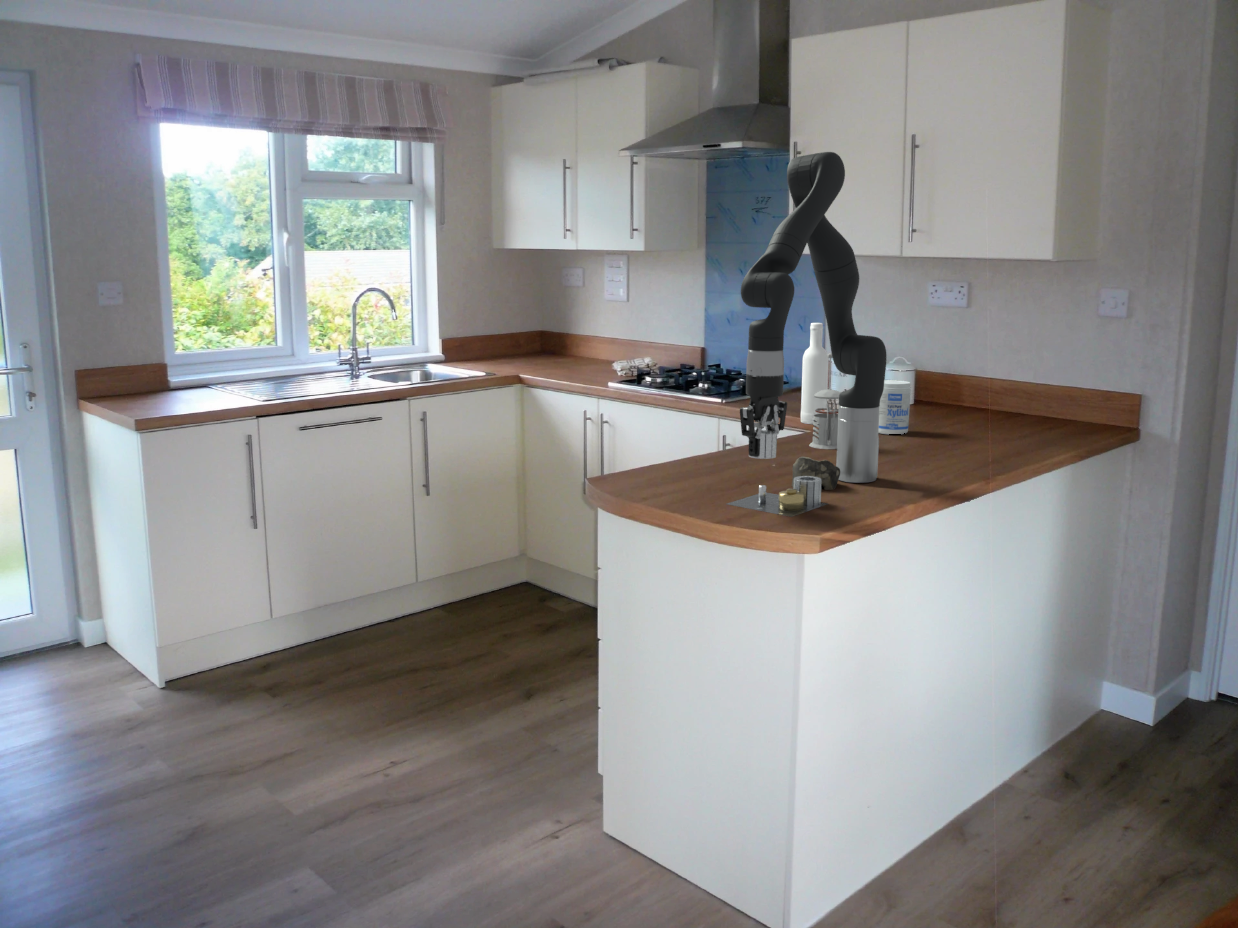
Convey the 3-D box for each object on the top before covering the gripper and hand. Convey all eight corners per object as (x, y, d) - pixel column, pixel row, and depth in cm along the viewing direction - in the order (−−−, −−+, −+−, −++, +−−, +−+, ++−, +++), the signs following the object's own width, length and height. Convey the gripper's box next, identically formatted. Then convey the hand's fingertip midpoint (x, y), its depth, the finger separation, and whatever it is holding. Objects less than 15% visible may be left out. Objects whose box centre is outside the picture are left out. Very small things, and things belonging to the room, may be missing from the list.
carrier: (763, 497, 233) (764, 474, 232) (828, 509, 223) (829, 485, 222) (725, 509, 223) (725, 485, 222) (791, 522, 212) (792, 497, 211)
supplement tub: (889, 436, 304) (892, 384, 301) (867, 431, 312) (869, 380, 309) (915, 433, 308) (918, 382, 305) (892, 428, 316) (895, 378, 313)
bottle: (811, 419, 333) (815, 321, 327) (832, 422, 327) (835, 323, 321) (794, 422, 328) (797, 323, 322) (815, 425, 322) (818, 324, 316)
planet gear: (758, 452, 225) (759, 429, 224) (781, 455, 222) (781, 432, 221) (743, 456, 221) (744, 432, 220) (766, 459, 218) (766, 435, 217)
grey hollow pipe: (797, 498, 227) (798, 475, 226) (823, 500, 225) (824, 477, 224) (789, 503, 222) (790, 480, 221) (815, 506, 220) (816, 482, 219)
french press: (843, 442, 295) (847, 351, 290) (848, 450, 284) (852, 355, 279) (807, 442, 296) (810, 351, 291) (810, 450, 285) (813, 355, 280)
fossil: (834, 482, 245) (841, 448, 238) (840, 509, 238) (847, 475, 231) (786, 480, 245) (792, 446, 238) (791, 508, 238) (797, 473, 231)
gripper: (769, 367, 226) (767, 447, 229) (728, 373, 215) (726, 456, 219) (800, 370, 221) (797, 451, 224) (760, 376, 210) (757, 461, 214)
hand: (762, 453), depth 222 cm, fingers closed on planet gear, 5 cm apart
